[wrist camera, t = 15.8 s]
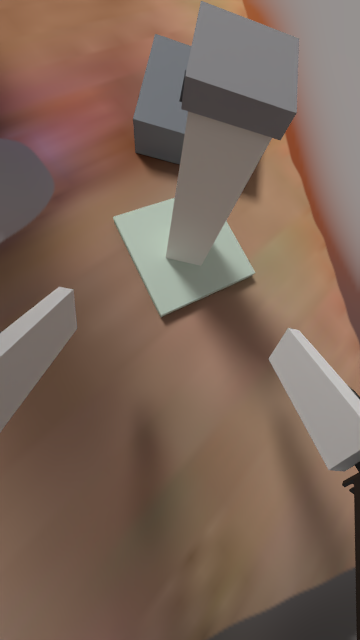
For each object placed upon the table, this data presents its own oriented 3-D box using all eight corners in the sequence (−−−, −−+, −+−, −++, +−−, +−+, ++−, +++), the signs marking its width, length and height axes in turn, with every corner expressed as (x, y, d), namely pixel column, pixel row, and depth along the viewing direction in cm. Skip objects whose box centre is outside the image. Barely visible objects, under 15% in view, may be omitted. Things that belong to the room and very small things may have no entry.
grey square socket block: (135, 152, 24) (133, 118, 21) (154, 74, 27) (155, 33, 24) (241, 181, 26) (254, 154, 22) (248, 104, 29) (261, 70, 25)
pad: (114, 223, 22) (112, 216, 21) (205, 194, 25) (207, 187, 24) (160, 317, 21) (161, 315, 20) (250, 276, 23) (255, 272, 22)
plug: (162, 259, 21) (185, 75, 7) (169, 223, 22) (201, 0, 8) (203, 268, 21) (296, 113, 8) (208, 232, 22) (298, 38, 9)
